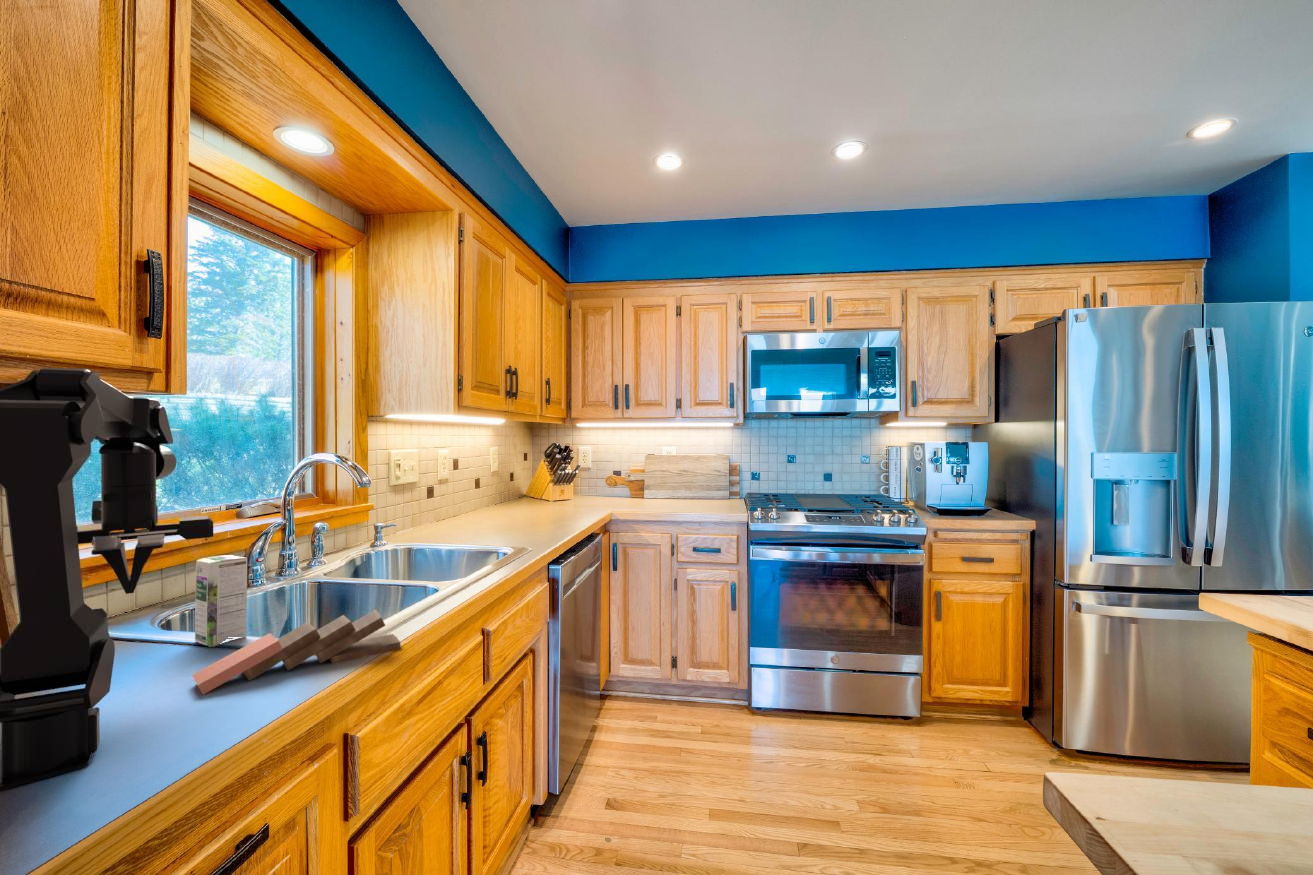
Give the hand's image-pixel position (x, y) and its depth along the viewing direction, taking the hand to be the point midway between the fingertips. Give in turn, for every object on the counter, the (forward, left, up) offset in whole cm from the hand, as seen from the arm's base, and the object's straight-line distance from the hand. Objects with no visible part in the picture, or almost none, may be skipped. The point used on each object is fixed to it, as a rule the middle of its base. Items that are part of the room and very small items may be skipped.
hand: (130, 592), depth 79 cm
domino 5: (+24, -9, -13) cm, 28 cm away
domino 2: (+12, -8, -13) cm, 19 cm away
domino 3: (+17, -8, -12) cm, 23 cm away
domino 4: (+22, -9, -12) cm, 26 cm away
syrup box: (+11, +14, -13) cm, 22 cm away
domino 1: (+7, -9, -13) cm, 17 cm away
